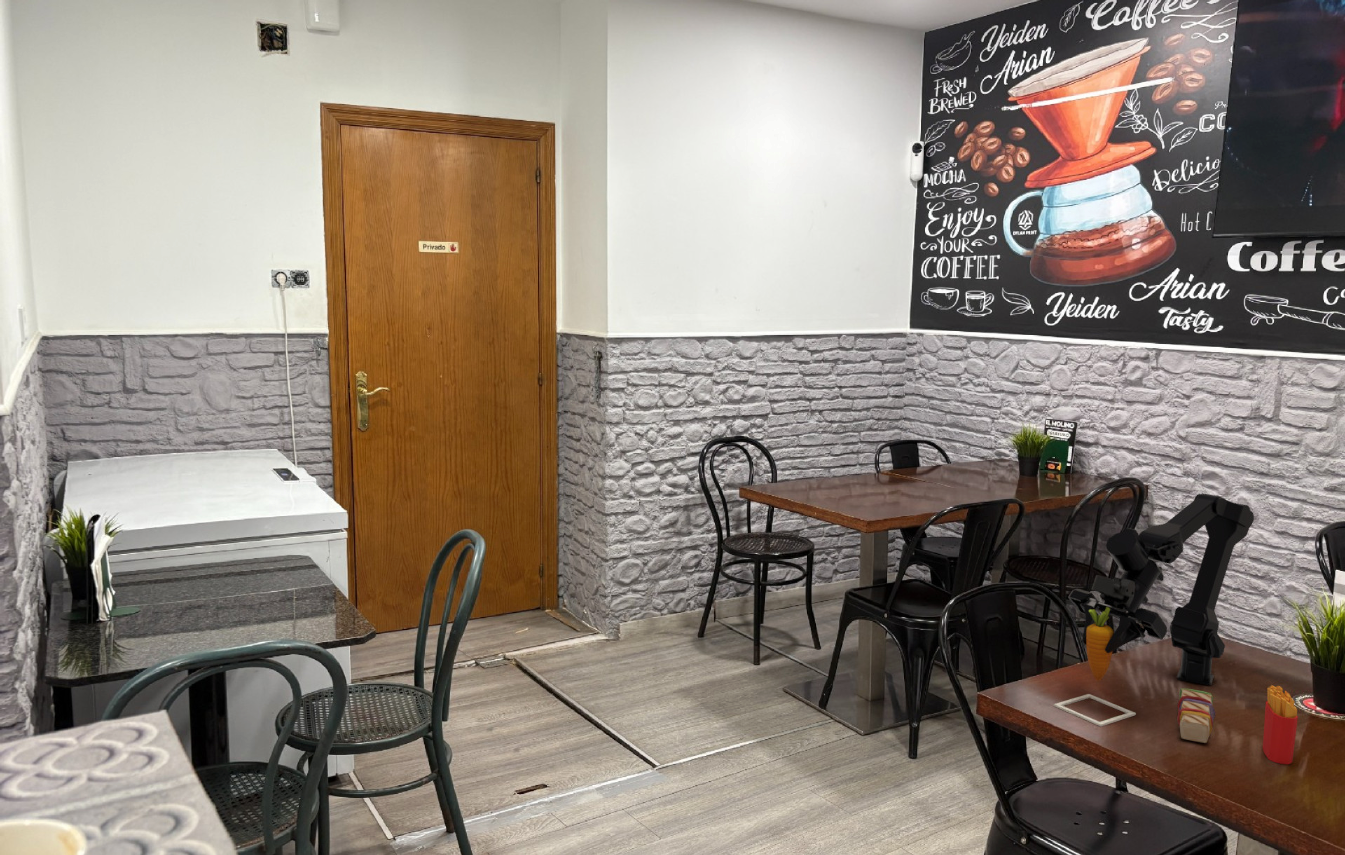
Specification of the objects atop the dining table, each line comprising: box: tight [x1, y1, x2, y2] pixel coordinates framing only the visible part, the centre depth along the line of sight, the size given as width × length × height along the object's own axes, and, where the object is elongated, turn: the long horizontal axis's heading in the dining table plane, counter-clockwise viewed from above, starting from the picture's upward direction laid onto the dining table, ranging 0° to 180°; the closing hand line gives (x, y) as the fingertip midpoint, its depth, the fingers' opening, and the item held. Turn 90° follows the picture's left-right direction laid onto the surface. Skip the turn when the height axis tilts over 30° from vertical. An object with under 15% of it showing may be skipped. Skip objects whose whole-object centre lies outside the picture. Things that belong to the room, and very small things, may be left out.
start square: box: [1053, 693, 1137, 727], centre depth 190 cm, size 11×11×1 cm
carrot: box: [1085, 607, 1115, 682], centre depth 188 cm, size 5×5×15 cm
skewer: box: [1176, 688, 1216, 744], centre depth 185 cm, size 21×6×5 cm, turn 151°
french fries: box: [1262, 684, 1299, 765], centre depth 171 cm, size 8×4×12 cm, turn 162°
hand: (1095, 647), depth 188 cm, fingers closed on carrot, 5 cm apart
